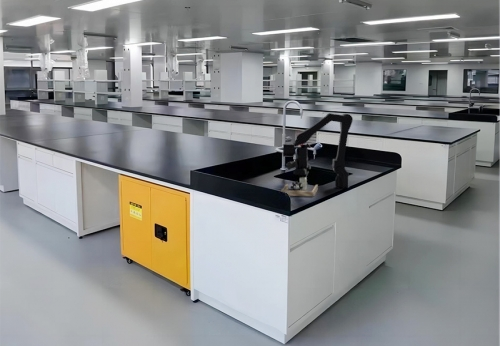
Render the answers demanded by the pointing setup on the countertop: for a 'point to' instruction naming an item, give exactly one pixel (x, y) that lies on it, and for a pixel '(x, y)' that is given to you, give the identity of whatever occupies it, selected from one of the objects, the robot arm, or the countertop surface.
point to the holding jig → (299, 193)
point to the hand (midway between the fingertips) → (302, 184)
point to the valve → (300, 184)
